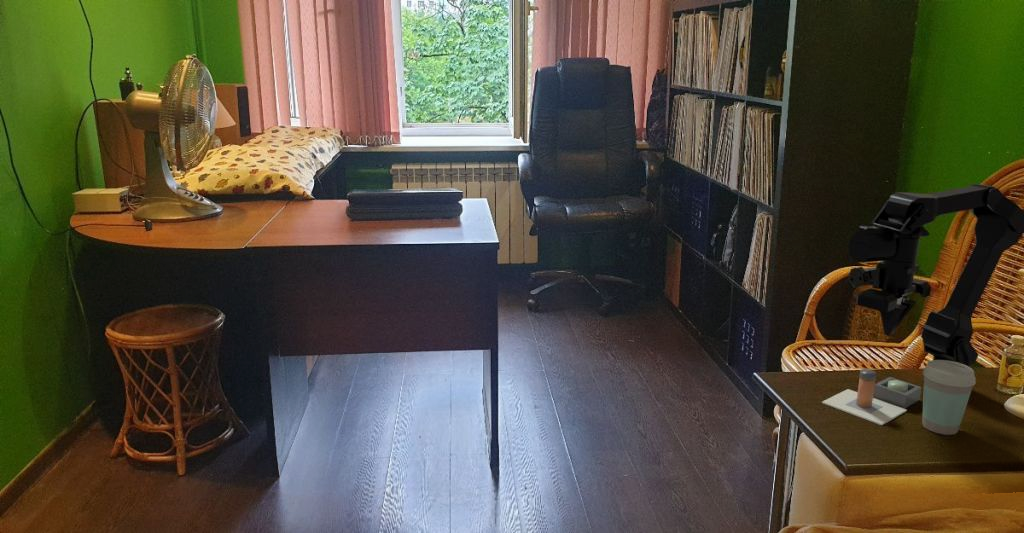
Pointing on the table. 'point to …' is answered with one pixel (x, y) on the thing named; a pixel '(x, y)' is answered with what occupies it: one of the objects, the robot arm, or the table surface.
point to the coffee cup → (945, 395)
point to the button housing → (896, 393)
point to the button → (898, 385)
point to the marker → (866, 388)
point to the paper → (876, 413)
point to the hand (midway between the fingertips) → (888, 334)
